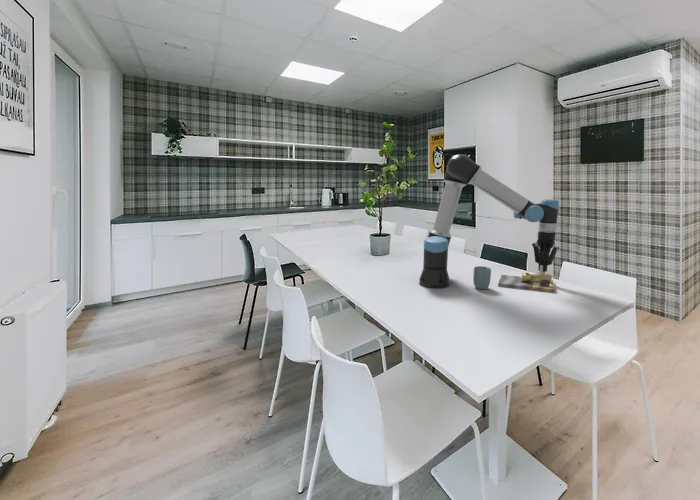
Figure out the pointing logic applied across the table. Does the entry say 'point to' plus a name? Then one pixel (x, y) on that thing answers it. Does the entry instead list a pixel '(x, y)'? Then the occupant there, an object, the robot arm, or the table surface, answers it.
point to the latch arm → (535, 277)
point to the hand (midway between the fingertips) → (541, 277)
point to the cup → (482, 277)
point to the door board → (526, 284)
